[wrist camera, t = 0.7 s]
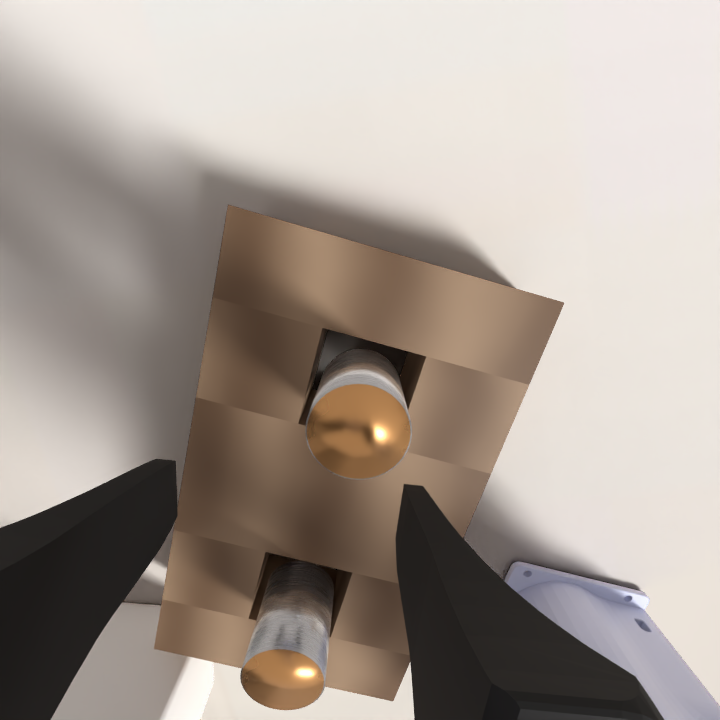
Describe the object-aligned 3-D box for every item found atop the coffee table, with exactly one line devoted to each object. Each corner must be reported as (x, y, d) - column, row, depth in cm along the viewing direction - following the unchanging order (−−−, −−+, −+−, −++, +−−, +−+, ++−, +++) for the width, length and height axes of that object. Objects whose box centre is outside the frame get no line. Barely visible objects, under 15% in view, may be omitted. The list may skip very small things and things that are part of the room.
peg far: (341, 570, 20) (334, 659, 15) (325, 619, 21) (313, 718, 16) (275, 554, 19) (249, 640, 15) (261, 605, 20) (233, 701, 16)
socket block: (520, 292, 19) (564, 302, 15) (388, 626, 26) (393, 701, 21) (260, 216, 19) (228, 204, 14) (190, 580, 25) (153, 648, 21)
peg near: (410, 360, 16) (426, 399, 12) (386, 431, 17) (394, 490, 13) (332, 339, 16) (319, 369, 12) (312, 412, 17) (294, 465, 13)
